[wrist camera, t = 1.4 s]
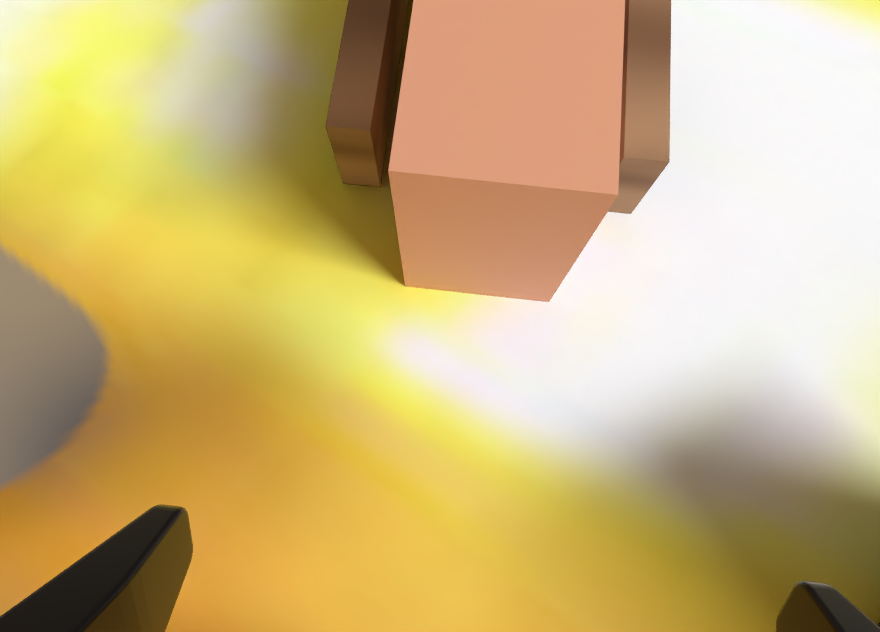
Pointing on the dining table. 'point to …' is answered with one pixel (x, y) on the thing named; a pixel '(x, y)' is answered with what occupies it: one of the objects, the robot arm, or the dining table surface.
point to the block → (505, 141)
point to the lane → (375, 73)
